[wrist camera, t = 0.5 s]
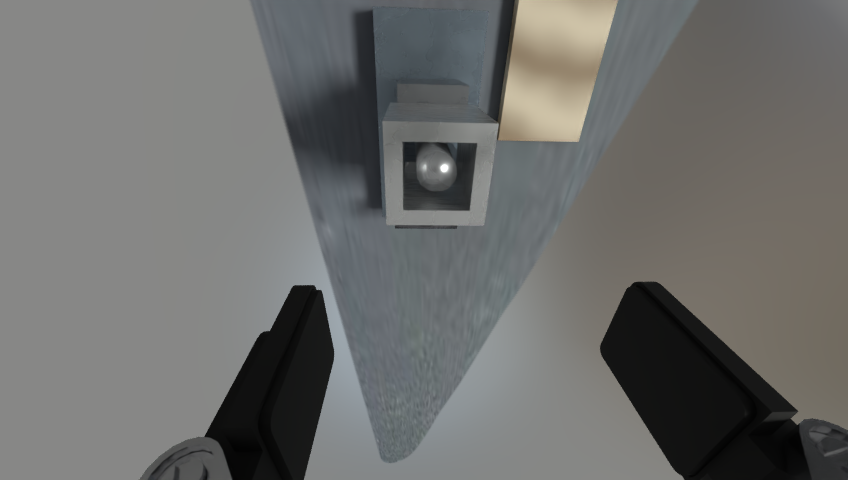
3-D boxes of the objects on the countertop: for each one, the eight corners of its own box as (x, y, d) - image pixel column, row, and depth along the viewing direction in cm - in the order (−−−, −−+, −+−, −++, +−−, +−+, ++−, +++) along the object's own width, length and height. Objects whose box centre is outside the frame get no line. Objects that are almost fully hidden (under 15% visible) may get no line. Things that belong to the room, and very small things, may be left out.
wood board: (521, -49, 24) (526, -54, 23) (622, -44, 24) (631, -49, 23) (495, 137, 31) (498, 140, 30) (572, 138, 31) (578, 141, 30)
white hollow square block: (390, 102, 22) (382, 121, 16) (474, 104, 22) (498, 123, 16) (392, 183, 25) (386, 225, 19) (466, 184, 25) (484, 225, 19)
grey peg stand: (375, 9, 25) (343, -30, 13) (483, 13, 26) (547, -22, 14) (384, 208, 35) (370, 290, 23) (463, 209, 35) (490, 289, 23)
